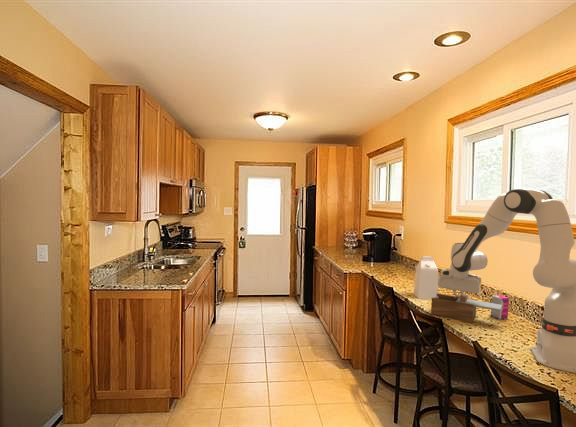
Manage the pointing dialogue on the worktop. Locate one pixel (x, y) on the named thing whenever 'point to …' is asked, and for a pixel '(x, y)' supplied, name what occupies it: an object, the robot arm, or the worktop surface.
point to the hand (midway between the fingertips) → (458, 298)
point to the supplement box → (504, 310)
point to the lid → (479, 303)
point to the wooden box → (452, 308)
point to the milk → (426, 279)
